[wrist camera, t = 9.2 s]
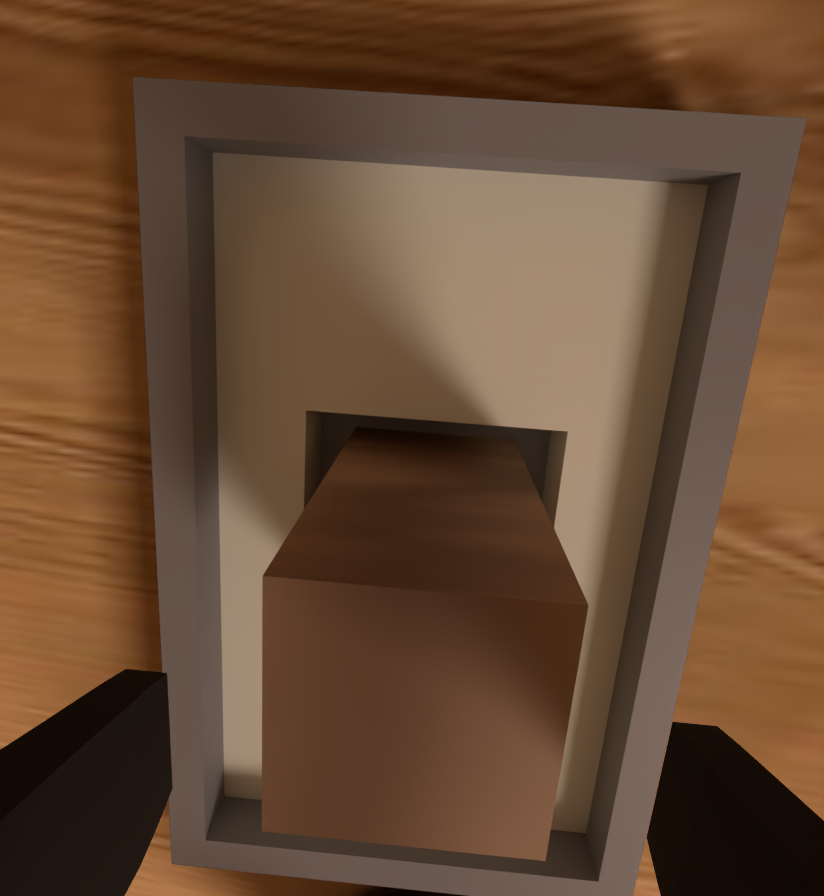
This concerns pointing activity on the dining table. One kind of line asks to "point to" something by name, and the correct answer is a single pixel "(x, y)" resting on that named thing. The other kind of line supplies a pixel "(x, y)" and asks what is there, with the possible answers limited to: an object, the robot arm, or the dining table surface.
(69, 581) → the dining table surface
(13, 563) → the dining table surface
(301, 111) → the open box
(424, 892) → the supplement bottle
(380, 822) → the wooden peg
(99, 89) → the dining table surface
